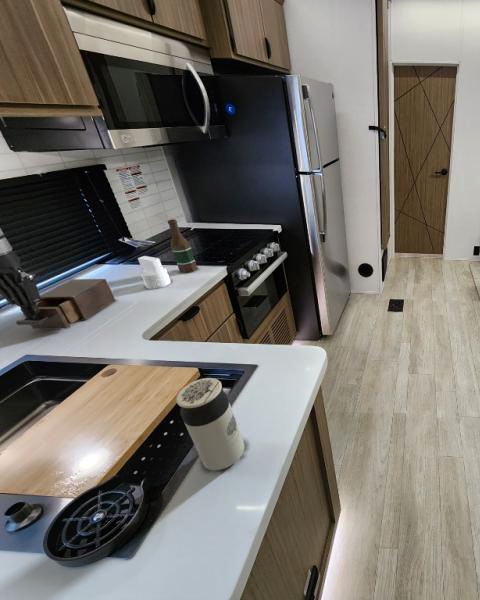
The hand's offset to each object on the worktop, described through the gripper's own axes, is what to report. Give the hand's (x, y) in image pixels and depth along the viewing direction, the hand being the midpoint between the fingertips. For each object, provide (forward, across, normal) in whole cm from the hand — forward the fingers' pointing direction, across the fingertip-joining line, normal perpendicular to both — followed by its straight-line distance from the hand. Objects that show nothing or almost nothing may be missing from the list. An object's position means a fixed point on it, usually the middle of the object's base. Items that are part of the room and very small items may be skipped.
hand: (38, 321), depth 108 cm
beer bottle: (+5, -19, -53) cm, 56 cm away
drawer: (+4, 0, -6) cm, 7 cm away
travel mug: (+5, -80, +48) cm, 93 cm away
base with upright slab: (+5, -14, -38) cm, 41 cm away
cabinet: (+5, 0, -16) cm, 17 cm away
